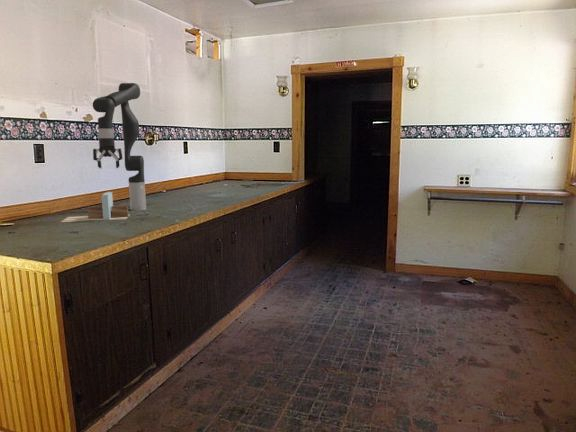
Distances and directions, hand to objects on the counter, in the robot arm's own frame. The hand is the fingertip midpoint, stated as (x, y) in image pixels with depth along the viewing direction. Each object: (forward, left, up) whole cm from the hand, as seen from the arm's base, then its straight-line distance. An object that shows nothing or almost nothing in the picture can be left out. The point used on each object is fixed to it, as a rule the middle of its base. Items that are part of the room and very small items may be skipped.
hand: (108, 168), depth 230 cm
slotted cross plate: (+2, -2, -27) cm, 27 cm away
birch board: (+2, -8, -28) cm, 29 cm away
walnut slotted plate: (+2, -2, -27) cm, 27 cm away
